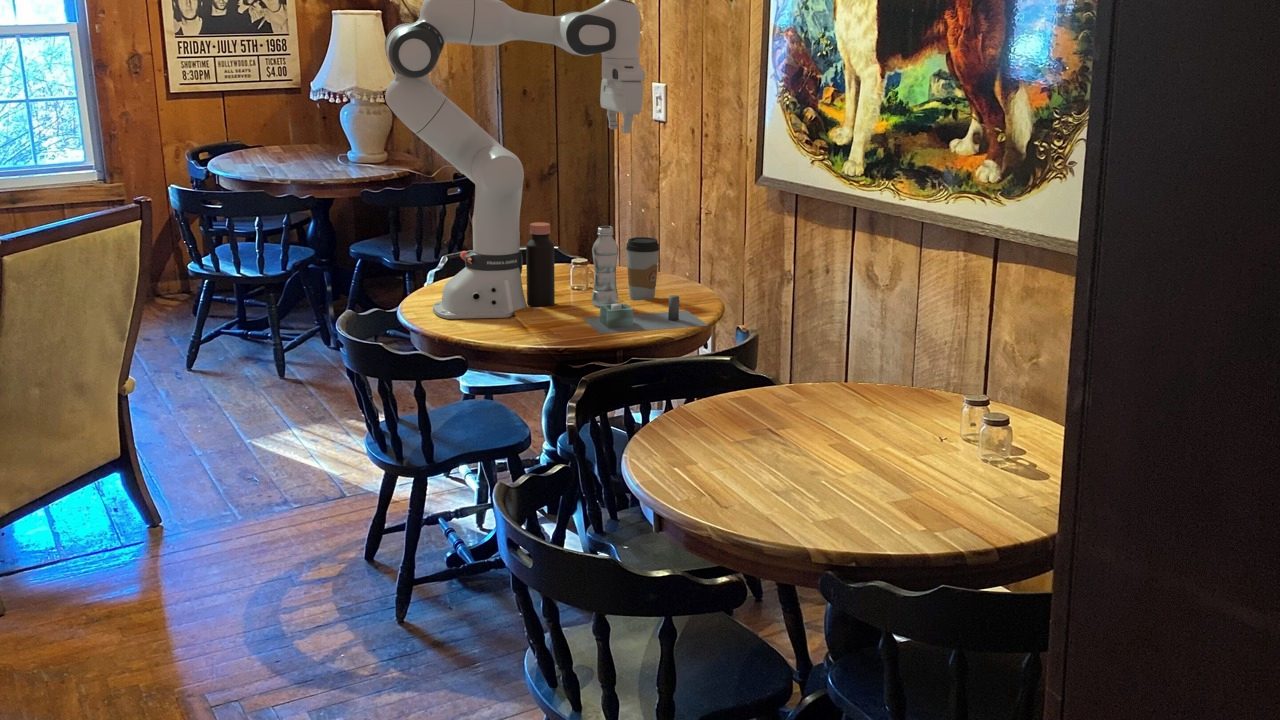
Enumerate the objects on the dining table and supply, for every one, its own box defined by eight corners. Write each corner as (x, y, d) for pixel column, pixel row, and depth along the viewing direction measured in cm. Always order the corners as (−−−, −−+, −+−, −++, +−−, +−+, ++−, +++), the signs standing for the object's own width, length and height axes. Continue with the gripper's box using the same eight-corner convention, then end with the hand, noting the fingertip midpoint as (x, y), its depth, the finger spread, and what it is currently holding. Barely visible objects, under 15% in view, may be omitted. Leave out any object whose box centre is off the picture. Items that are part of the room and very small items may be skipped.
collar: (607, 328, 266) (607, 311, 265) (599, 321, 271) (599, 304, 270) (632, 326, 268) (633, 309, 267) (624, 319, 273) (624, 303, 272)
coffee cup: (645, 304, 292) (646, 244, 287) (618, 299, 296) (619, 240, 292) (665, 298, 298) (666, 239, 294) (638, 293, 303) (639, 235, 298)
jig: (600, 338, 262) (600, 309, 260) (582, 322, 274) (582, 295, 272) (708, 329, 270) (709, 301, 268) (686, 314, 282) (687, 288, 281)
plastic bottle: (619, 305, 290) (620, 225, 284) (616, 312, 283) (617, 230, 278) (593, 304, 290) (594, 224, 285) (589, 311, 284) (590, 229, 278)
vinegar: (548, 309, 286) (547, 227, 280) (522, 306, 288) (521, 225, 282) (558, 302, 292) (558, 222, 286) (533, 300, 294) (532, 220, 288)
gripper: (594, 68, 283) (593, 126, 287) (621, 73, 265) (620, 135, 268) (619, 68, 285) (618, 126, 289) (648, 73, 267) (646, 135, 271)
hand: (619, 131), depth 279 cm, fingers open, 8 cm apart
